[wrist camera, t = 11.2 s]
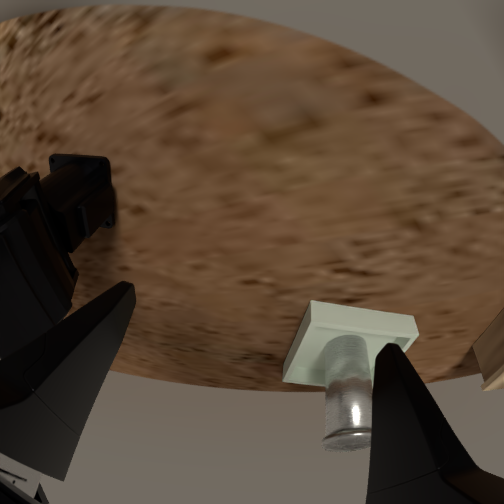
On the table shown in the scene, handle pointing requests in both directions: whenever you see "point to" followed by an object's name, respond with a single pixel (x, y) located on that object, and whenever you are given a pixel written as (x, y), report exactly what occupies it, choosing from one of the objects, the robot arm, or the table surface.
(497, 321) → the lidded bin
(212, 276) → the table surface
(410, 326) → the tray
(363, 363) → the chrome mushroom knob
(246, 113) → the table surface
